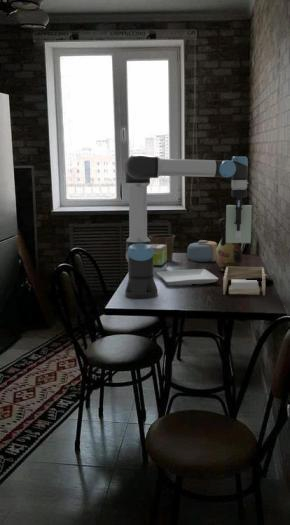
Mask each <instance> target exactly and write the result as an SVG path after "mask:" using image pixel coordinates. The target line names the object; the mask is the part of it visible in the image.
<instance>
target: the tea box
mask: <svg viewBox="0 0 290 525" xmlns="http://www.w3.org/2000/svg"><path fill="white" fill-rule="evenodd" d="M150 245H151V246H152V247H153V252H154V254H153V271H154V274H157V273H156V272H162V271H167V269H168V262H167V245H157V244H151V243H150ZM157 275H158V274H157Z"/></svg>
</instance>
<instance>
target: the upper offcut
mask: <svg viewBox="0 0 290 525" xmlns="http://www.w3.org/2000/svg"><path fill="white" fill-rule="evenodd" d="M230 283H231V288H232V289H258V286H259V281H257V280H246V279H231V280H230Z"/></svg>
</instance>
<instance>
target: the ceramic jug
mask: <svg viewBox="0 0 290 525" xmlns="http://www.w3.org/2000/svg"><path fill="white" fill-rule="evenodd" d="M223 223H225V225H224V226H223ZM218 229H219V233H220V235H221V239H220V241H219V243H217V249H216V253H215V260H216V261H215V263H216V264H217V265H218V266H219V268H220V270H221V272H225V270H226V267H240V265H241V263H242V261H243V253H242V252H243V251H242V247H241V246H240V243H226V217H222V218H220V219H219V221H218Z"/></svg>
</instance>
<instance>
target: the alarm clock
mask: <svg viewBox="0 0 290 525" xmlns="http://www.w3.org/2000/svg"><path fill="white" fill-rule="evenodd" d="M217 246H218V243H217V242H215V241H212V240H207V239H206V240H205V239H204V240H203V239H200V240H198V242H193V243H190V244H189V245H188V246H187V258H188V260H189V261H190V262H204V263H205V262H206V263H207V262H216V260H215V253H216V249H217Z"/></svg>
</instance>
